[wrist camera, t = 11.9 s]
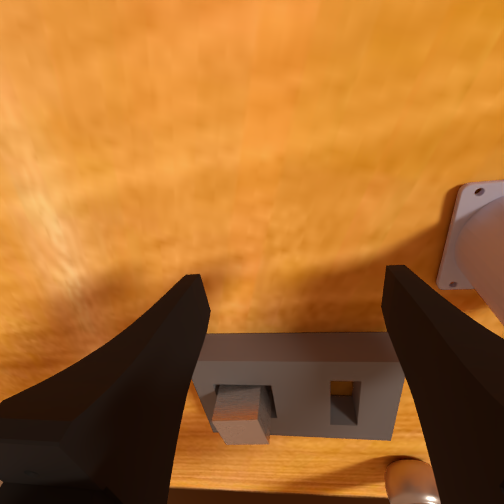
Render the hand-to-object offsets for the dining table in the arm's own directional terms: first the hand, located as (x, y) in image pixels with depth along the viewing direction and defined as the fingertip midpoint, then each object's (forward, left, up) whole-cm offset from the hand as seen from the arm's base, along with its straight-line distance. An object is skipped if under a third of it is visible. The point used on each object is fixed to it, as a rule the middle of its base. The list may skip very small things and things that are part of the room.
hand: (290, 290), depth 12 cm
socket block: (+1, +19, -9) cm, 21 cm away
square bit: (+6, +19, -10) cm, 22 cm away
